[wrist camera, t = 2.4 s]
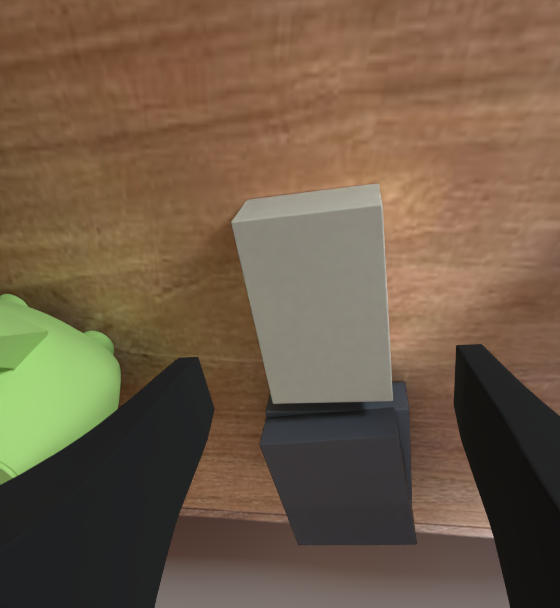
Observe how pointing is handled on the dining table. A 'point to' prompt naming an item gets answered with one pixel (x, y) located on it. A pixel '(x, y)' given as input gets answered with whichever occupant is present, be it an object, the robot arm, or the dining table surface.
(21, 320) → the teapot
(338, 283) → the white book
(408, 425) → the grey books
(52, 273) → the dining table surface
